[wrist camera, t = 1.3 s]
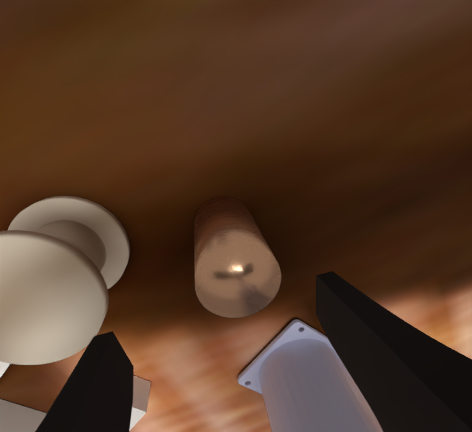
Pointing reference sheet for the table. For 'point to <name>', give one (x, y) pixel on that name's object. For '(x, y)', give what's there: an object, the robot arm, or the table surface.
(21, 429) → the notched board
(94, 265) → the bobbin
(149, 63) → the table surface
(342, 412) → the robot arm
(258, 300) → the copper peg
